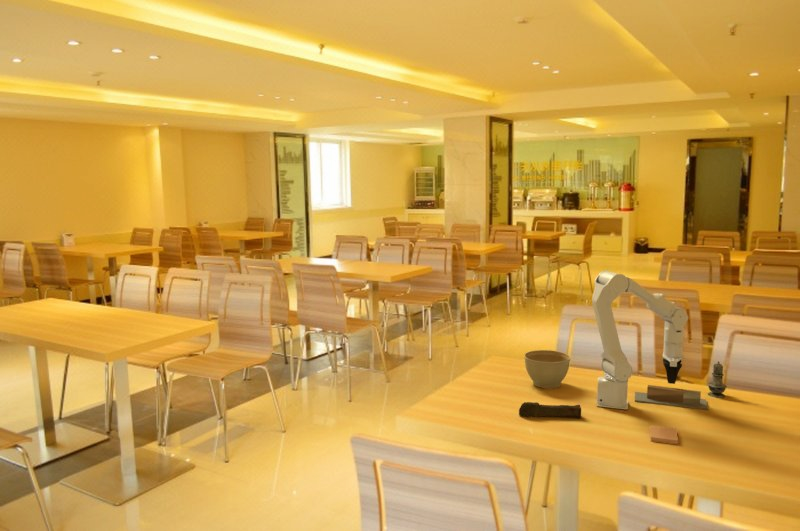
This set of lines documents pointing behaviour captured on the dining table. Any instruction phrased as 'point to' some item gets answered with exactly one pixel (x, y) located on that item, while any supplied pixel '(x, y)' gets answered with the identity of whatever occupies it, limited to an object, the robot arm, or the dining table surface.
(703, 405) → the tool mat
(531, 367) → the planter bowl
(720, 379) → the salt shaker
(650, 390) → the two-tone flat stick
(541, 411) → the hand tool
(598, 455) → the dining table surface
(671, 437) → the tile
